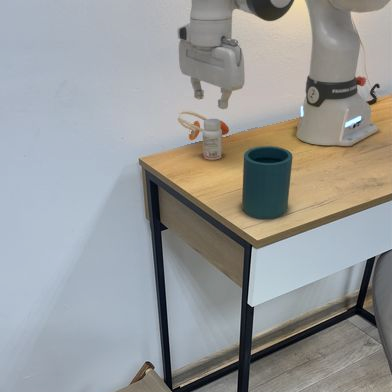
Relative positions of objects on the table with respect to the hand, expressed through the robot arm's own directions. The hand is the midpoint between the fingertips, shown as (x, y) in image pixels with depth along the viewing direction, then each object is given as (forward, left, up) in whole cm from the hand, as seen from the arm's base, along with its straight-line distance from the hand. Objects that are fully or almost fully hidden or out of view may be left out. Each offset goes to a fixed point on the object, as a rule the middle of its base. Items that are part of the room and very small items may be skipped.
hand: (210, 103), depth 114 cm
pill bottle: (0, 0, -13) cm, 13 cm away
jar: (+8, +29, -13) cm, 33 cm away
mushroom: (+1, -13, -6) cm, 14 cm away
